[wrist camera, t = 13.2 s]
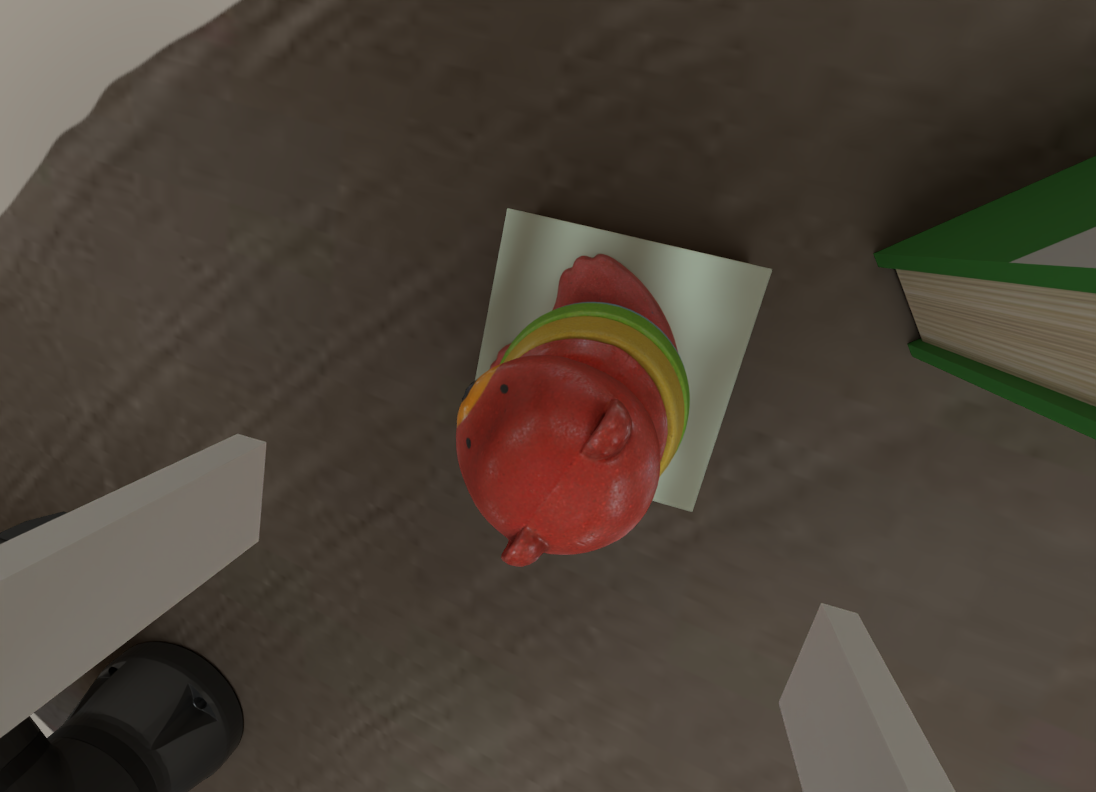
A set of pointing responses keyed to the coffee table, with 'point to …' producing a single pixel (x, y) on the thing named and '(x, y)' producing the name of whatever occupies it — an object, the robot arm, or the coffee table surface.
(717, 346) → the tower base
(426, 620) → the coffee table surface
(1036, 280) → the hardback book
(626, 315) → the stacking bear
